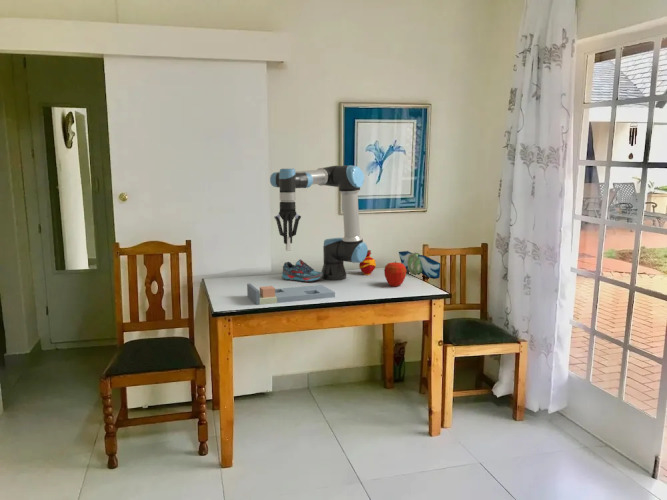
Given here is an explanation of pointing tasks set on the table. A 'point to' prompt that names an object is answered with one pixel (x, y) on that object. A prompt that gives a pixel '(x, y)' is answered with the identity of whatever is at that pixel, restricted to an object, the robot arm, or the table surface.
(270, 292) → the block
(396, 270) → the apple
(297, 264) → the running shoe
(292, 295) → the grey flat slotted slab
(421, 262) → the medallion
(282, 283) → the table surface
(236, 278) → the table surface
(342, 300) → the table surface
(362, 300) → the table surface
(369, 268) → the potion bottle
